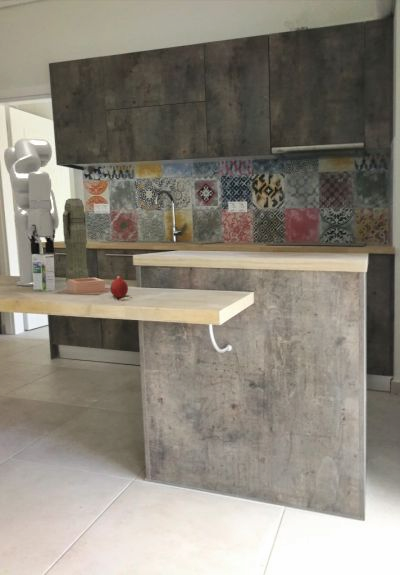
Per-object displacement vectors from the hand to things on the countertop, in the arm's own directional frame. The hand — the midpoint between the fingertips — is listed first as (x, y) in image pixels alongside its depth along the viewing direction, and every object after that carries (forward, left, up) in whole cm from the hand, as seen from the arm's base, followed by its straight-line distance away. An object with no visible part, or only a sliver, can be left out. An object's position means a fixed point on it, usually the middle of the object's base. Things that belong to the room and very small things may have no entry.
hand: (42, 253), depth 196 cm
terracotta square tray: (-1, +17, -14) cm, 21 cm away
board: (-1, +17, -15) cm, 22 cm away
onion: (+8, +34, -15) cm, 38 cm away
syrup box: (-1, 0, -15) cm, 15 cm away
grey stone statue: (-19, +4, -15) cm, 24 cm away
